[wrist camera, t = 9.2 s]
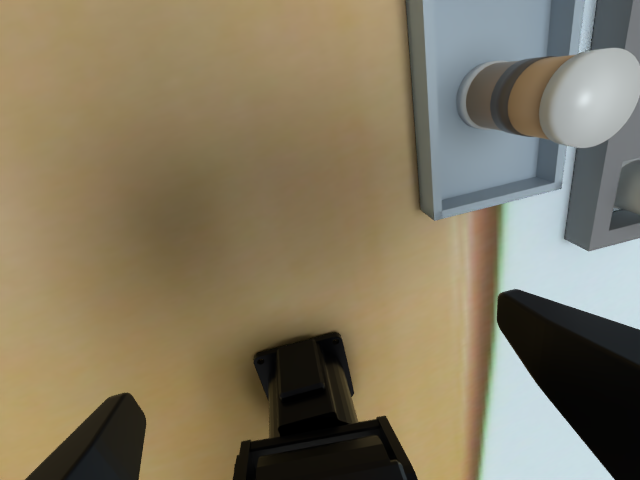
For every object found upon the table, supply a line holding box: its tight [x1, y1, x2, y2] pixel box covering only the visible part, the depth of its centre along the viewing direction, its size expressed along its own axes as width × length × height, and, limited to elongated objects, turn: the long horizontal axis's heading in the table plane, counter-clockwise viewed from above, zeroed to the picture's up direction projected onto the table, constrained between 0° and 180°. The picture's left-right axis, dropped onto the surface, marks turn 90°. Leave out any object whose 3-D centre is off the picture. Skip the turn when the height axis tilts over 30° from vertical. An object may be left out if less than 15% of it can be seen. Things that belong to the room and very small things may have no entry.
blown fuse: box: [456, 48, 640, 148], centre depth 15 cm, size 3×3×7 cm
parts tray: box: [406, 0, 585, 221], centre depth 18 cm, size 12×8×2 cm, turn 12°
